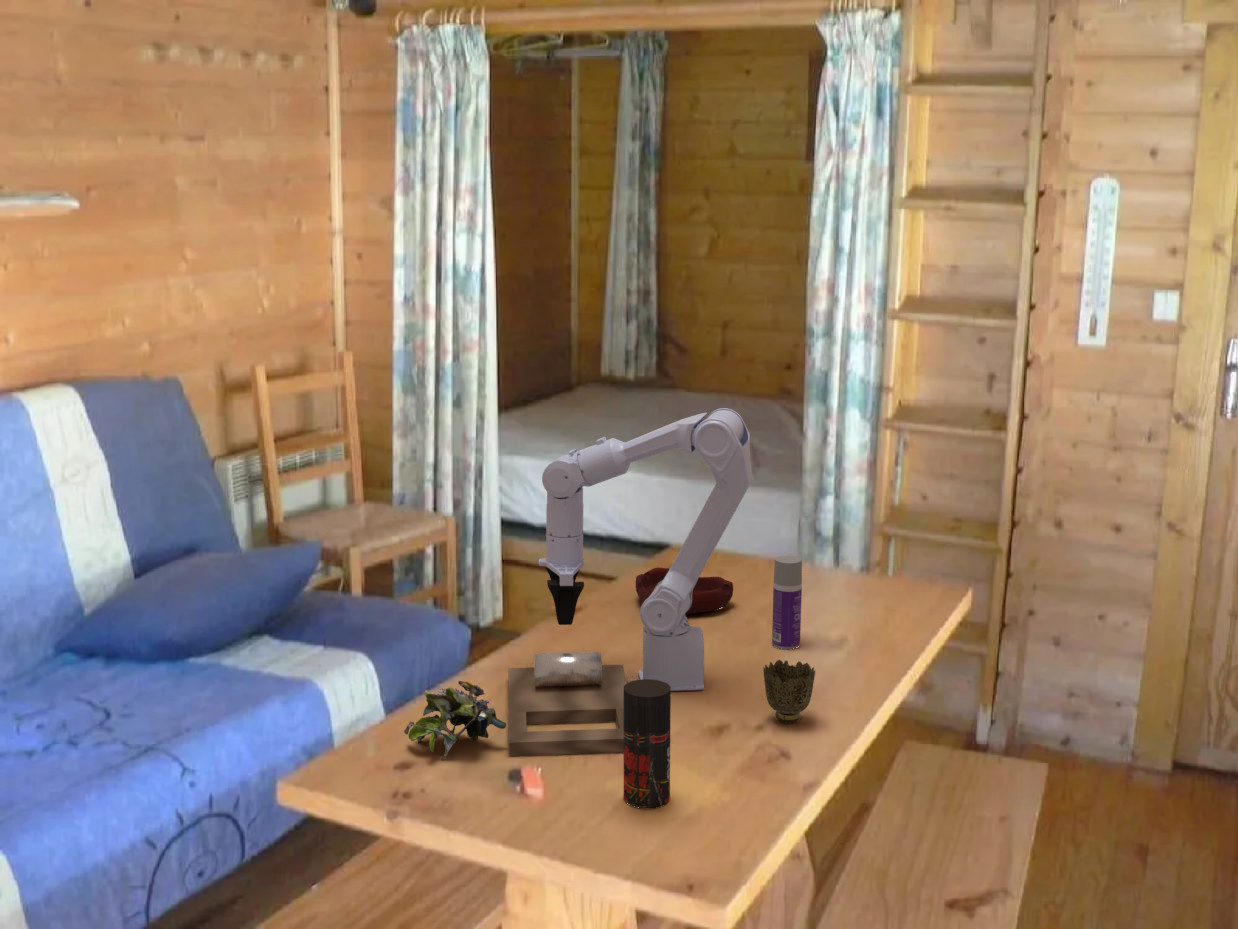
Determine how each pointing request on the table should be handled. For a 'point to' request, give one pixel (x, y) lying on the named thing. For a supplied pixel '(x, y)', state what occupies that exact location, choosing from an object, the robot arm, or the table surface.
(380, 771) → the table surface
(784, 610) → the container
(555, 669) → the roller
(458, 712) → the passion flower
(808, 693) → the cup
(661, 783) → the deodorant
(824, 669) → the table surface
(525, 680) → the grey brown board
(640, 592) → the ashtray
